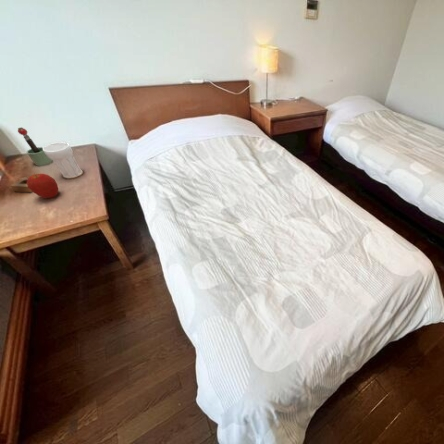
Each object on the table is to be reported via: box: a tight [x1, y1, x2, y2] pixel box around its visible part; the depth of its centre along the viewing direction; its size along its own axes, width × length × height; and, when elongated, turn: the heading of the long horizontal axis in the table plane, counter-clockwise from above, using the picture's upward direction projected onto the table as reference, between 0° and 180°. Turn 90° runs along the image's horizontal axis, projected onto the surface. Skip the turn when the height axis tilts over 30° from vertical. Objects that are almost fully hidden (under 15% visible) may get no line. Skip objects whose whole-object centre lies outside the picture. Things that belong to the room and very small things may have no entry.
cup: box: [42, 141, 84, 180], centre depth 137 cm, size 11×11×17 cm
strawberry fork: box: [17, 127, 40, 153], centre depth 142 cm, size 4×4×20 cm
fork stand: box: [10, 176, 33, 193], centre depth 130 cm, size 8×8×4 cm
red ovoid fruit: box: [27, 173, 59, 199], centre depth 123 cm, size 10×10×14 cm
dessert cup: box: [26, 146, 53, 167], centre depth 147 cm, size 8×8×8 cm
